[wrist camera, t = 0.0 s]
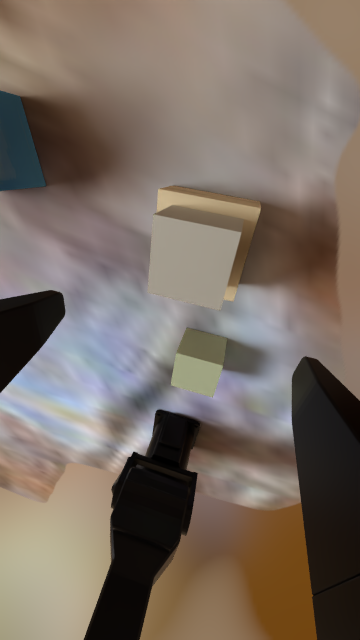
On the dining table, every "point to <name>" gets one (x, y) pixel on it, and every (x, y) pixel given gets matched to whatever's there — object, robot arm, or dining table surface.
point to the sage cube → (199, 362)
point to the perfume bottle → (17, 147)
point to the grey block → (192, 255)
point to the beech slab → (218, 205)
